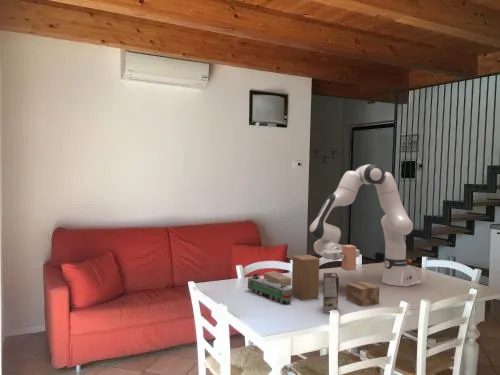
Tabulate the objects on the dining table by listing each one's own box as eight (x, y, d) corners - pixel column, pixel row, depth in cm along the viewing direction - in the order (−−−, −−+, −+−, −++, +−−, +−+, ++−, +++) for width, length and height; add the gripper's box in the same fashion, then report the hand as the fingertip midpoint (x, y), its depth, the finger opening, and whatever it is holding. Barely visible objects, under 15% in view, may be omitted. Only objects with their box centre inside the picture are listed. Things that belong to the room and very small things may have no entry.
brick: (292, 285, 236) (292, 277, 236) (279, 287, 232) (279, 278, 232) (275, 278, 251) (275, 270, 250) (263, 280, 246) (263, 272, 246)
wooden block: (291, 294, 218) (292, 255, 217) (308, 292, 222) (309, 254, 221) (300, 300, 209) (301, 259, 208) (318, 298, 212) (319, 258, 212)
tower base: (364, 297, 216) (364, 281, 215) (379, 303, 206) (379, 287, 205) (346, 299, 211) (346, 283, 211) (360, 306, 201) (360, 289, 201)
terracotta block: (349, 267, 222) (350, 244, 221) (355, 270, 217) (356, 246, 217) (341, 268, 220) (342, 245, 219) (347, 270, 215) (348, 247, 215)
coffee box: (338, 313, 190) (339, 277, 190) (323, 313, 191) (324, 277, 190) (336, 307, 199) (337, 272, 199) (322, 306, 200) (323, 272, 199)
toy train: (252, 289, 227) (253, 270, 227) (294, 304, 203) (294, 283, 203) (245, 290, 224) (245, 271, 224) (287, 306, 200) (287, 284, 200)
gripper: (317, 247, 226) (332, 251, 213) (349, 244, 234) (366, 249, 221) (317, 258, 226) (332, 264, 213) (349, 256, 234) (365, 261, 221)
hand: (349, 256), depth 217 cm, fingers closed on terracotta block, 5 cm apart
